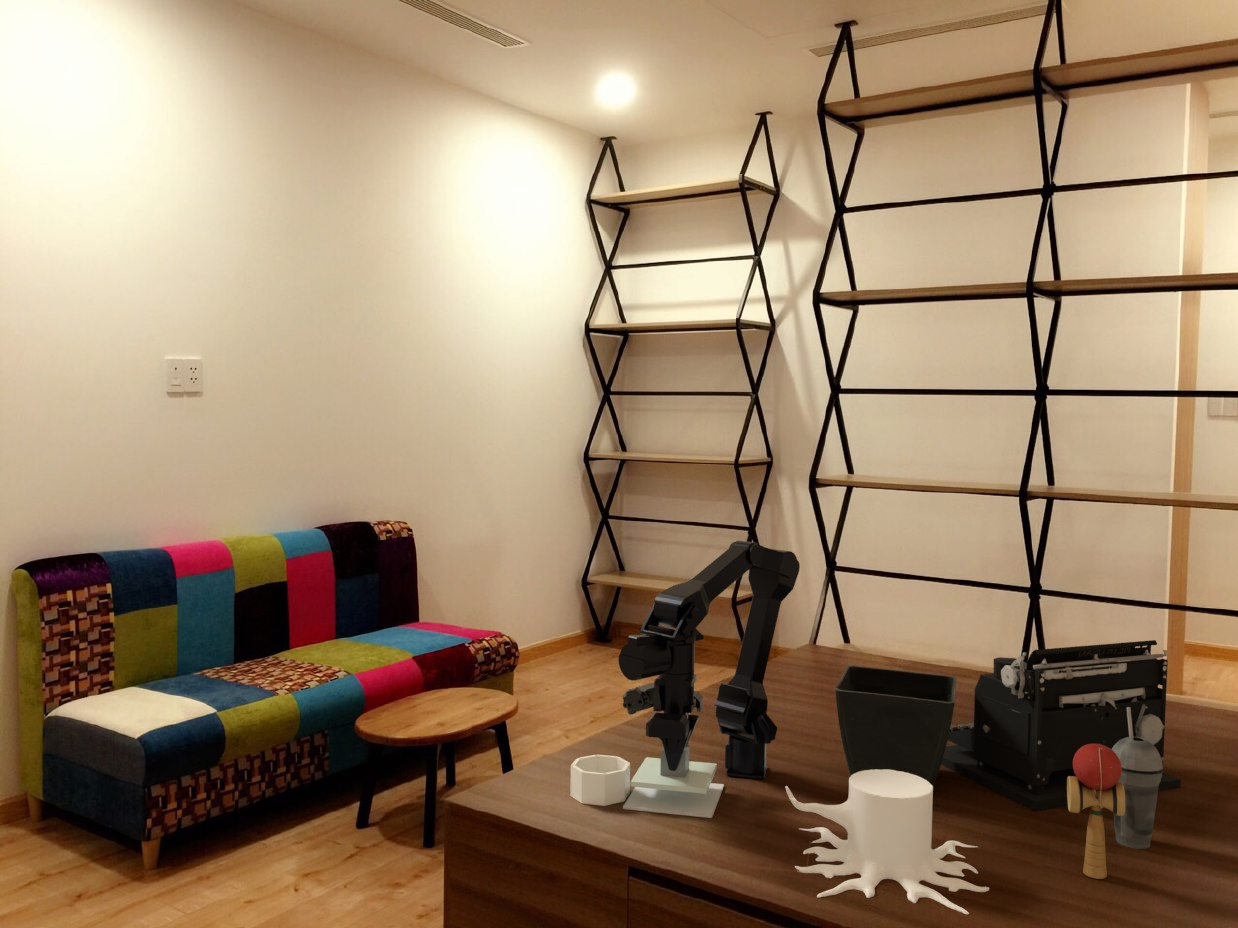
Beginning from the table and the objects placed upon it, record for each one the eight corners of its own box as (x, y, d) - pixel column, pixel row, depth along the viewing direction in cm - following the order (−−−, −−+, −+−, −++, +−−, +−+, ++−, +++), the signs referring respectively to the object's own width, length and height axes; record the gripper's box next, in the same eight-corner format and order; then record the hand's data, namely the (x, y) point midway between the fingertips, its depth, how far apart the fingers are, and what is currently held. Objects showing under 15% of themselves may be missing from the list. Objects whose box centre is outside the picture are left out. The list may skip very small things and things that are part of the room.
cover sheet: (716, 768, 169) (717, 739, 169) (706, 793, 157) (706, 763, 157) (646, 761, 172) (646, 733, 171) (630, 786, 160) (630, 756, 160)
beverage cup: (1168, 855, 144) (1172, 716, 144) (1112, 850, 146) (1117, 712, 145) (1151, 835, 152) (1156, 702, 151) (1099, 830, 153) (1103, 699, 152)
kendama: (1056, 875, 138) (1060, 743, 137) (1068, 859, 143) (1072, 733, 142) (1118, 891, 133) (1123, 756, 132) (1128, 875, 138) (1133, 744, 137)
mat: (723, 786, 170) (723, 784, 170) (711, 817, 156) (711, 815, 156) (641, 778, 173) (641, 776, 173) (623, 808, 159) (623, 806, 159)
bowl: (633, 787, 169) (633, 757, 168) (620, 807, 160) (621, 776, 160) (580, 782, 171) (581, 752, 171) (565, 801, 162) (565, 770, 162)
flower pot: (954, 767, 181) (956, 673, 180) (952, 805, 163) (955, 701, 162) (845, 754, 187) (847, 664, 186) (832, 789, 169) (834, 689, 168)
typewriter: (1058, 742, 196) (1062, 614, 195) (1180, 790, 171) (1185, 643, 170) (925, 759, 186) (928, 623, 184) (1034, 813, 160) (1038, 656, 159)
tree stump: (777, 894, 132) (778, 807, 132) (790, 813, 159) (792, 742, 159) (1002, 920, 126) (1005, 830, 125) (976, 832, 153) (978, 757, 153)
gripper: (639, 654, 175) (638, 743, 175) (614, 680, 156) (612, 780, 157) (704, 658, 172) (702, 749, 173) (685, 686, 154) (684, 787, 154)
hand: (675, 765), depth 164 cm, fingers closed on cover sheet, 4 cm apart
